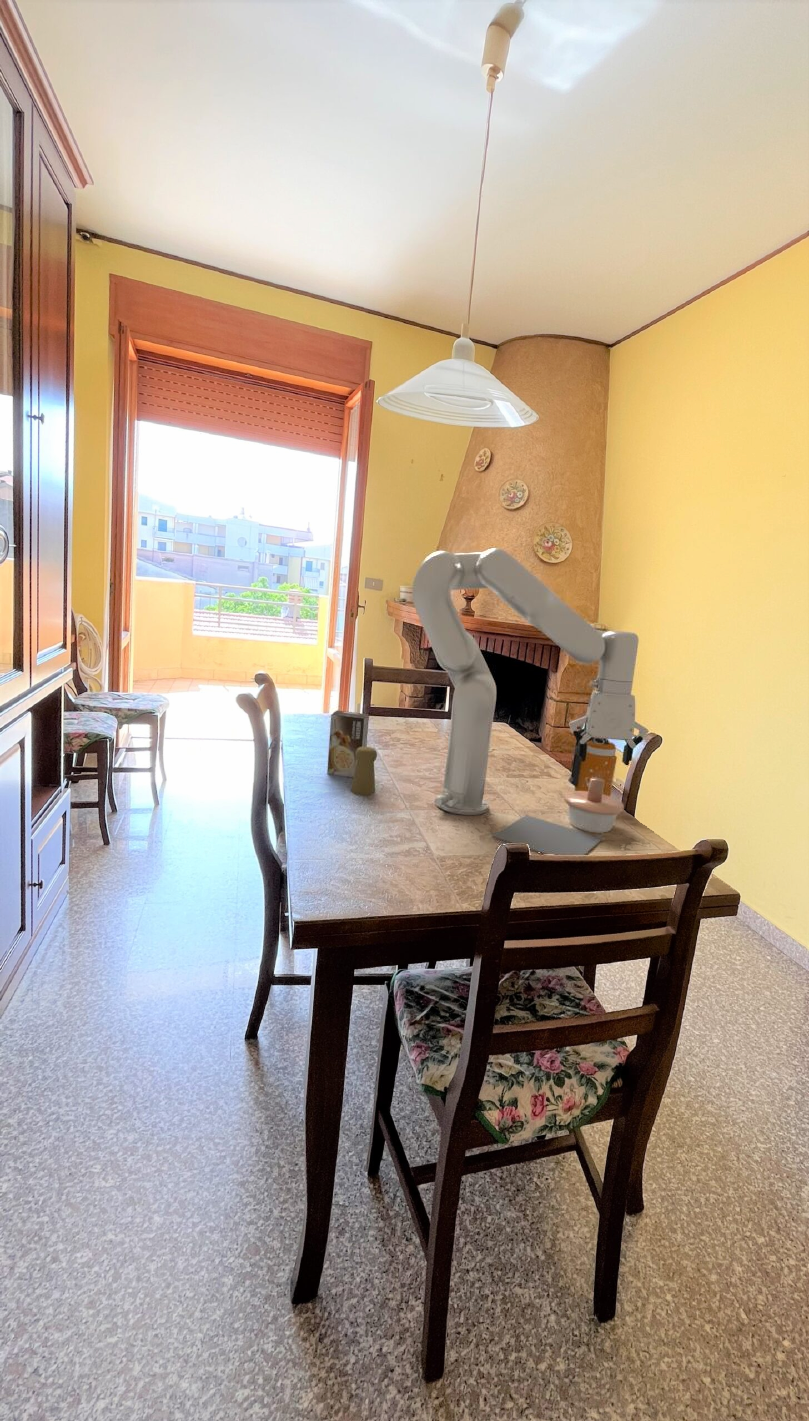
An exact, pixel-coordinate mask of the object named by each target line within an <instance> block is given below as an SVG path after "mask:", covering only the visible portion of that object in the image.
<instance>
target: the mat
mask: <svg viewBox="0 0 809 1421" xmlns="http://www.w3.org/2000/svg"><path fill="white" fill-rule="evenodd" d="M491 838H492V839H495V840H499V841H501V842H504V843H507V844H510V843H525V844H528V845H529V848H530V850H529V851H532V852H533V853H538V852H540V853H538V854H540V855H543V854H554V855H585V856H586V855H587V854H588V853H590V850H591V849H592V850H593V849H594V848H595V847H596V846H597V845H599V844H600V843H601V842H602V841H603V839H604V838H603V837H600V836H596V835H594V834H590V833H587V832H585V831H580V830H579V829H578V830H577V829H574V828H570V827H567V826H564V825H560V824H558V823H554V822H550V821H547V820H544V819H540V818H538V817H535V816H530V815H527V814H526V815H524V816H522V817H521V818H519V819H517V820H515V821H514V822H512V823H510V824H509V825H507V826H505V827H504V828H502V829H500V830H499V831H497V832H495V833H493V834H492V835H491ZM600 841H601V842H600ZM592 850H591V851H592ZM587 852H588V853H587Z"/></svg>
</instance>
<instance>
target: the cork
mask: <svg viewBox="0 0 809 1421" xmlns="http://www.w3.org/2000/svg"><path fill="white" fill-rule="evenodd" d="M355 756H356V759H357V763H356V768H355V772H354V777H352V782H351V786H350V792H351V793H352V794H354V795H359V796H371V795H372V794H373V795H374V793H375V794H376V783H375V782H376V778H375V776H376V775H375V761H376V760H377V758H378V753H377V750H376V749H375V748H374V747H371V746H367V747H359V748H358V749H357V750H356V753H355Z"/></svg>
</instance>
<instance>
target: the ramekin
mask: <svg viewBox="0 0 809 1421" xmlns="http://www.w3.org/2000/svg"><path fill="white" fill-rule="evenodd" d="M567 805H568V804H567ZM618 815H619V814H614V815H603V814H595V813H590V812H586V811H582V810H579V809H576V808H574V807H572V806H570V805H568V820H569V823H570V824H571V825H572V826H573V827H575V828H577V829H578V830H579V829H580V830H582V831H583V832H589V833H594V834H596V833H597V834H601V833H602V834H604V832H605V833H607V832H610V831H611V830H612V828H613V826H614V823H615V821H616V818H617V816H618Z"/></svg>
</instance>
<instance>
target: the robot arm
mask: <svg viewBox="0 0 809 1421" xmlns="http://www.w3.org/2000/svg"><path fill="white" fill-rule="evenodd" d="M481 589H482V590H483V589H489V590H490V591H491V592H492V593H493V594H495V596H497V597H498V598H499V599H500V600H501V601H502V602H504V603H505V604H506V605H507V606H508V607H510V608H511V609H512V610H513V611H514V612H515V613H516V614H517V615H518V616H520V617H521V618H522V619H523V620H524V621H526V622H527V623H528V624H530V625H531V626H533V627H534V628H536V629H538V630H539V631H540V632H542V633H543V634H544V635H545V636H546V637H548V638H549V639H550V640H551V641H553V642H554V644H556V645H557V646H558V647H559V648H560V649H561V650H563V652H565V653H566V654H567V655H568V656H569V657H571V658H572V660H574V661H576V662H577V663H579V664H582V665H590V664H595V663H596V662H598V661H599V663H598V670H597V677H596V679H593V680H592V679H590V681H589V687H593V688H594V689H595V690H592V693H591V695H590V699H589V701H588V705H587V710H586V713H585V715H584V716H582V717H579V718H576V719H574V720H571V721H570V722H568V725H569V728H570V730H571V733H572V735H573V736H574V737H575V739H576V738H577V739H578V741H579V746H578V756H579V757H580V760H581V761H585V759H586V752H587V744H586V741H588V740H589V739H590V738H591V737H595V738H604V739H607V740H617V741H625V743H626V744H624V746H623V752H622V760H621V761H622V762H621V763H623V765H625V766H630V762H632V759H633V753H634V749H635V748H636V747H637V746H638V744H640V743H642V742H643V740H644V739H645V737H646V736H647V735H648V733H649V731H650V730H649V729H648V728H646V727H645V726H643V725H642V724H640V723H638V722H637V721H636V698H635V697H636V696H635V695H633V694H632V690H633V684H634V682H633V681H634V675H635V669H636V661H637V655H638V648H639V647H638V646H639V642H640V641H639V640H640V639H639V635H638V634H636V633H634V632H631V631H622V630H621V631H620V630H609V631H608V630H600V629H595V627H594V626H592V625H591V624H590V623H588V622H587V620H585V619H584V618H583V617H581V615H579V613H577V612H576V611H575V610H573V608H571V607H570V606H569V605H567V604H566V602H564V601H563V600H562V599H561V598H560V597H559V596H558V595H557V594H556V593H555V592H554V591H553V590H552V589H551V588H550V587H548V586H547V585H546V584H545V583H543V581H541V579H539V578H538V577H537V576H536V575H534V574H533V572H531V571H530V570H529V569H527V567H525V566H524V565H523V564H522V563H520V561H518V559H516V558H515V557H514V556H512V554H510V553H509V552H508V551H506V550H504V549H502V548H499V547H496V548H495V547H493V548H490V549H487V550H485V551H482V552H480V551H479V552H468V553H466V552H464V553H462V552H461V553H452V552H449V551H447V550H438V551H434V552H433V553H431V554H429V555H428V556H427V557H426V558H425V559H424V560H423V561H422V562H421V564H420V566H418V569H417V570H416V573H415V575H414V578H413V582H412V588H411V590H412V592H411V593H412V594H411V596H412V601H413V605H414V606H413V607H414V609H415V611H416V614H417V616H418V619H419V621H420V624H421V626H422V628H423V630H424V633H425V635H426V637H427V640H428V641H429V645H430V646H431V648H432V651H433V654H434V655H435V656H434V657H435V660H436V661H437V663H438V665H439V667H441V668H442V669H443V670H445V671H446V673H447V675H448V676H449V679H450V681H451V683H452V685H453V687H454V691H453V696H452V702H451V703H452V705H451V716H450V717H451V718H450V726H449V733H448V734H449V736H448V737H449V738H448V746H447V754H446V755H447V756H446V763H445V772H444V779H443V789H442V793H441V794H438V795H437V796H435V799H434V804H435V806H437V807H438V808H439V809H441V810H443V811H446V812H448V813H451V814H457V815H463V816H478V815H482V814H483V815H484V814H485V813H487V812H488V810H489V803H488V802H487V801H486V800H485V799H484V792H485V785H486V784H485V783H486V777H487V771H488V770H487V769H488V763H489V762H488V761H489V755H490V746H491V737H492V729H493V722H494V715H495V709H496V702H497V685H496V682H495V680H494V677H493V675H492V672H491V671H490V668H489V667H488V664H487V662H486V660H485V658H484V655H483V654H482V651H481V649H480V646H479V645H478V643H477V641H476V639H475V638H474V636H473V635H472V634H470V633H469V632H468V631H467V630H466V628H465V626H464V624H463V622H462V619H461V618H460V616H459V612H458V610H457V608H456V606H455V604H454V602H453V599H452V596H451V595H452V594H451V592H452V591H457V590H458V591H459V590H481ZM581 725H583V727H584V728H583V729H584V730H585V731H584V732H583V733H582V734H581V735H580V733H579V732H578V731H579V729H578V726H581ZM635 729H636V730H637V731H638V734H637V735H635V736H634V734H635Z"/></svg>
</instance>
